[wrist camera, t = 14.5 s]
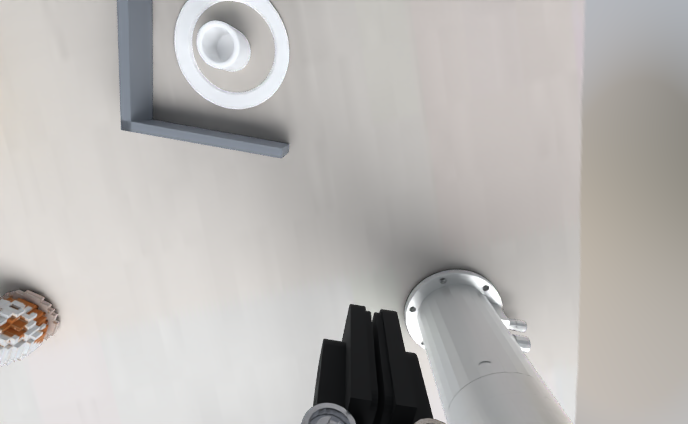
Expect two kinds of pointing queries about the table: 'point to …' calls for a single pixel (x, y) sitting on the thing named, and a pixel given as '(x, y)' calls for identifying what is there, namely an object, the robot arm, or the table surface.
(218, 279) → the table surface
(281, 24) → the candle holder
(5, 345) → the decorative ornament
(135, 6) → the box
